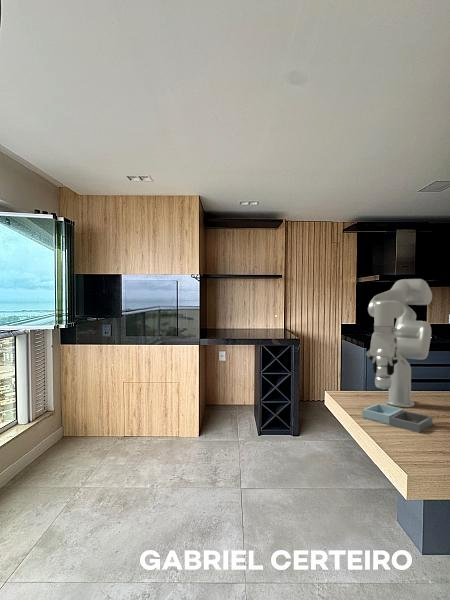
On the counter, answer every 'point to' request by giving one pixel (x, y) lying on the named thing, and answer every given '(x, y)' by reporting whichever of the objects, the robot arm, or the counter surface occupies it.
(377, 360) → the plastic bottle
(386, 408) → the bin
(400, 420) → the bin
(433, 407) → the counter surface
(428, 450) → the counter surface
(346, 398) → the counter surface
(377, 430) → the counter surface
